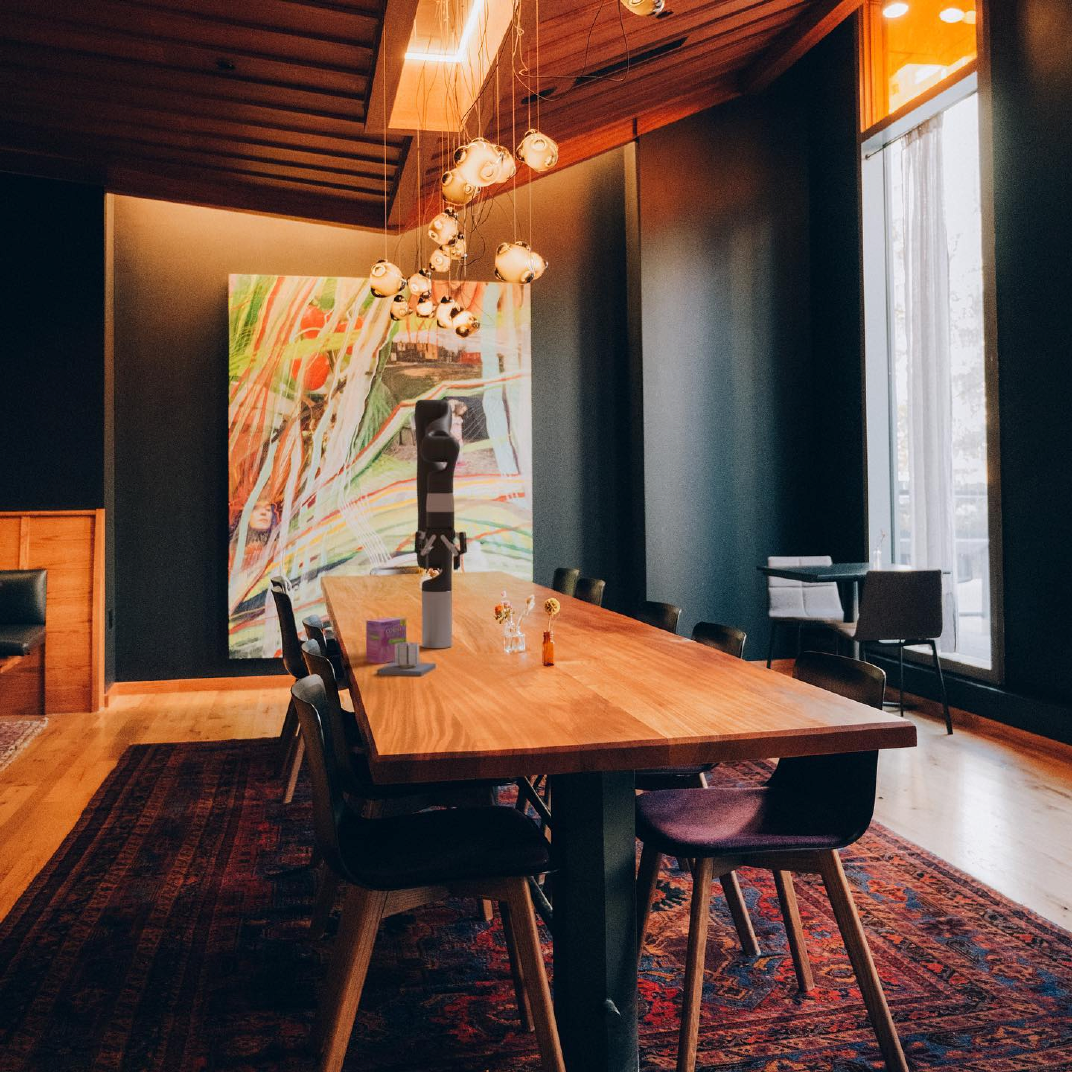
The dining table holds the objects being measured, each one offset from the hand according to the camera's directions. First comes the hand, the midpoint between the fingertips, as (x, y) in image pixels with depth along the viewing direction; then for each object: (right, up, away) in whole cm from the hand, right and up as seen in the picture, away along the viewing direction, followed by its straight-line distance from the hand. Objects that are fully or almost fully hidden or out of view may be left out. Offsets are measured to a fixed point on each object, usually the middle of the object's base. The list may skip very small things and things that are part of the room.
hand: (440, 569), depth 253 cm
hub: (-8, -24, -9) cm, 27 cm away
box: (-16, -26, +7) cm, 31 cm away
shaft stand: (-8, -26, -9) cm, 29 cm away
